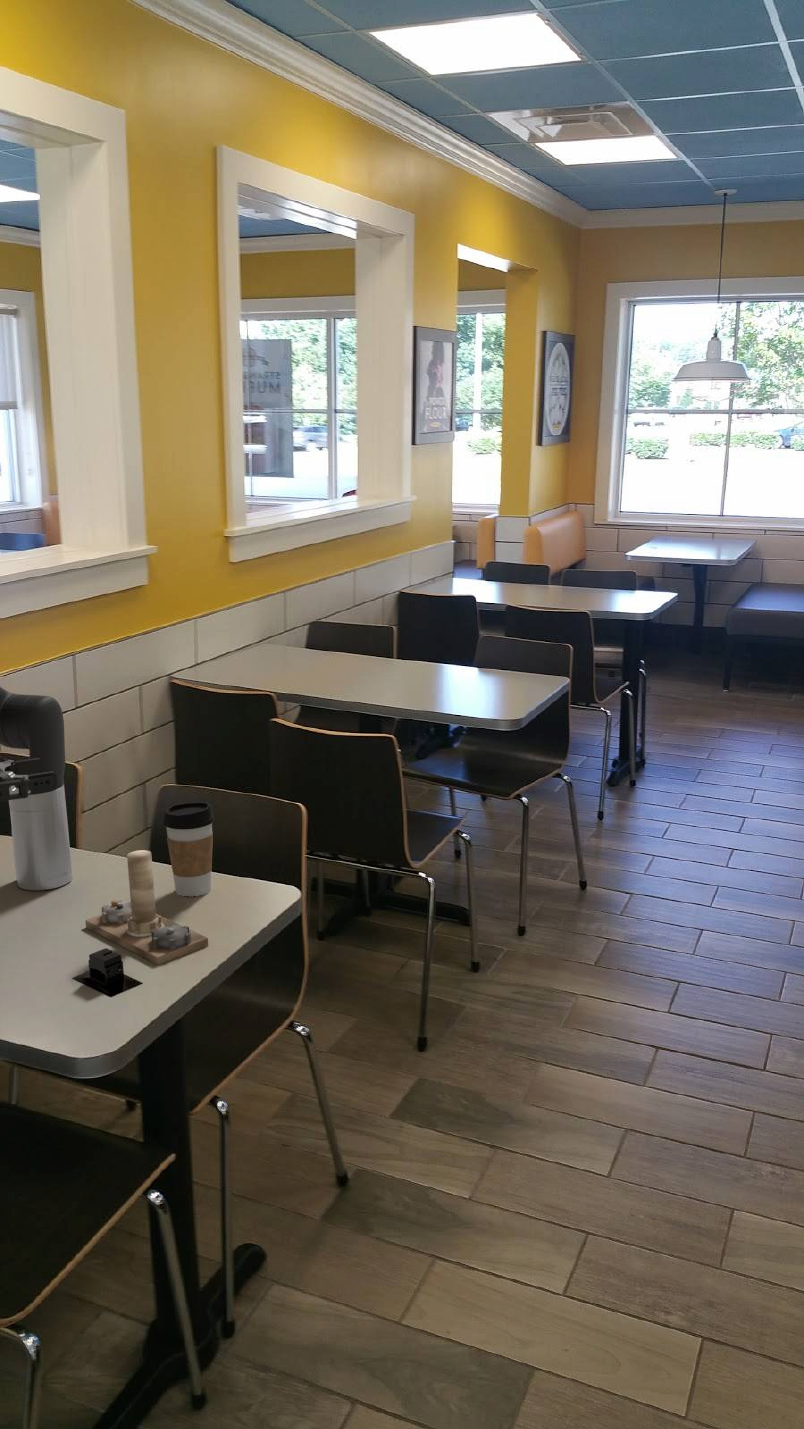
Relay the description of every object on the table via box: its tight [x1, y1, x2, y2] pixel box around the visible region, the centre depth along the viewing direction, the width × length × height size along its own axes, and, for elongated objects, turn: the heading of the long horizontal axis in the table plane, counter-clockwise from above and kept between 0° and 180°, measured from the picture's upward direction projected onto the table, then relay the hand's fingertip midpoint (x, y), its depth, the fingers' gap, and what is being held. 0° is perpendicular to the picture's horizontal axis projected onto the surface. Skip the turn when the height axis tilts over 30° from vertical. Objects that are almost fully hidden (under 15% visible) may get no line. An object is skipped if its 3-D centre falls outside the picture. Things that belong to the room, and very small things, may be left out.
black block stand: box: [71, 947, 144, 998], centre depth 162 cm, size 12×7×5 cm, turn 49°
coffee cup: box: [162, 801, 215, 898], centre depth 193 cm, size 8×8×15 cm
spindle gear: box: [126, 849, 162, 935], centre depth 175 cm, size 5×5×12 cm
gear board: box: [85, 900, 209, 966], centre depth 176 cm, size 20×9×3 cm, turn 45°
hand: (48, 771), depth 166 cm, fingers open, 8 cm apart
